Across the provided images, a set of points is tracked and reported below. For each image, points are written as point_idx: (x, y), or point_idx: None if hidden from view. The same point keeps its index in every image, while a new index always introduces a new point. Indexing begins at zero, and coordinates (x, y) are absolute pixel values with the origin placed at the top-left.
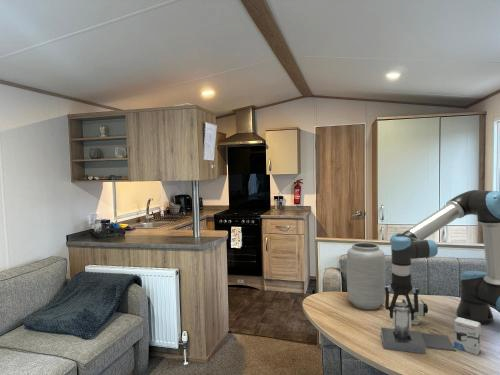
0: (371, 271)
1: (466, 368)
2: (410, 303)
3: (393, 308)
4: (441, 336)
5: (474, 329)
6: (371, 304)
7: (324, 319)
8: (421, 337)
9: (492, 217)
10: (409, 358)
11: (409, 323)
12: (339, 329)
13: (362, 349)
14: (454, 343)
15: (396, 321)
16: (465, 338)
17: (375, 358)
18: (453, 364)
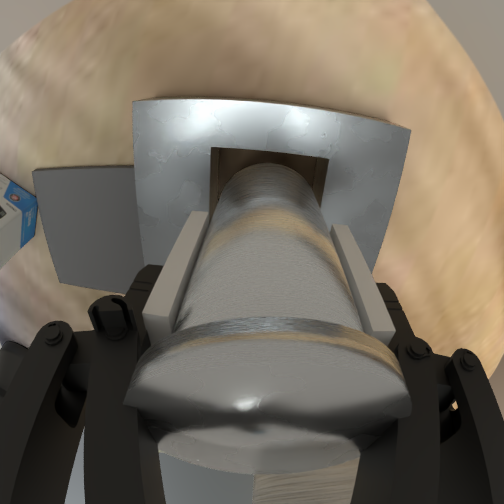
0: None
1: (28, 41)
2: (97, 466)
3: (404, 377)
4: (75, 274)
5: None
6: None
7: (492, 336)
8: (142, 205)
9: None
10: (262, 29)
11: (195, 235)
12: (491, 284)
13: (481, 120)
14: (26, 207)
15: (333, 247)
16: None
17: (444, 35)
18: (59, 47)
